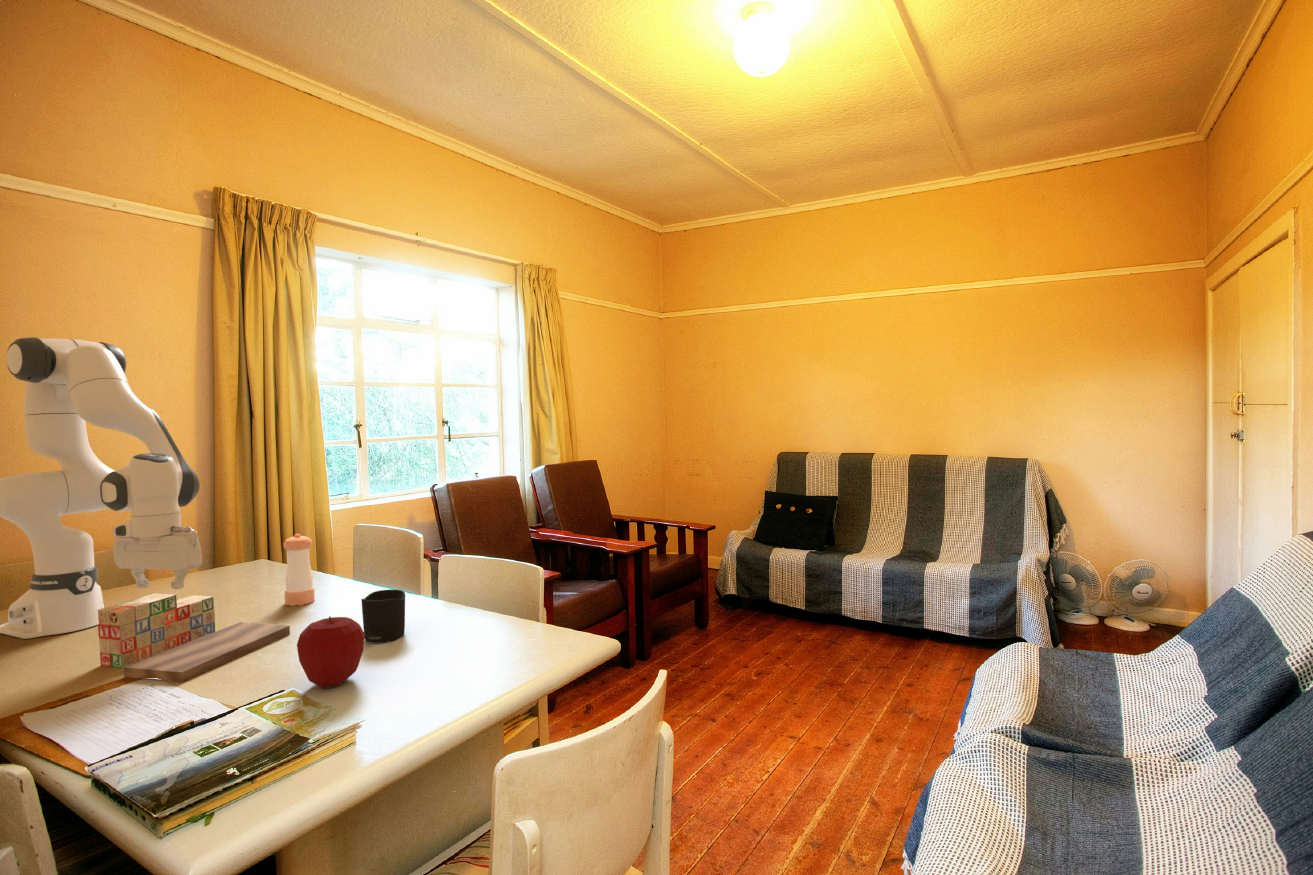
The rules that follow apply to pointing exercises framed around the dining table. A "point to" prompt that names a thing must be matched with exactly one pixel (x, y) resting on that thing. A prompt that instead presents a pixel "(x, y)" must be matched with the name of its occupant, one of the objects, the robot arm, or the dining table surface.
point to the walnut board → (206, 652)
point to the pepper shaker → (298, 571)
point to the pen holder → (384, 616)
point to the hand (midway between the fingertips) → (160, 588)
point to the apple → (330, 650)
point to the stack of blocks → (151, 626)
